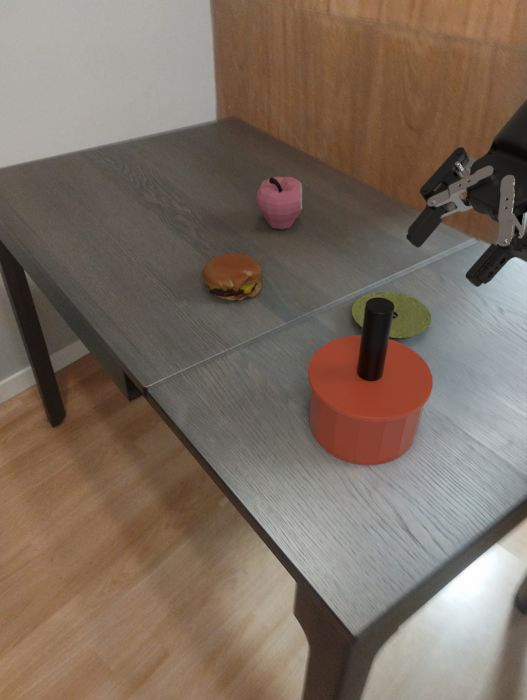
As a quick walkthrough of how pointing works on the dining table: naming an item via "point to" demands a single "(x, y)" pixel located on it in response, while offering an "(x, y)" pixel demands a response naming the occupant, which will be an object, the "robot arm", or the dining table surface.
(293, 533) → the dining table surface
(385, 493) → the dining table surface
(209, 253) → the dining table surface
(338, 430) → the cup
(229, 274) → the burger
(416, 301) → the mat
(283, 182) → the apple
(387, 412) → the cooker lid
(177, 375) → the dining table surface
